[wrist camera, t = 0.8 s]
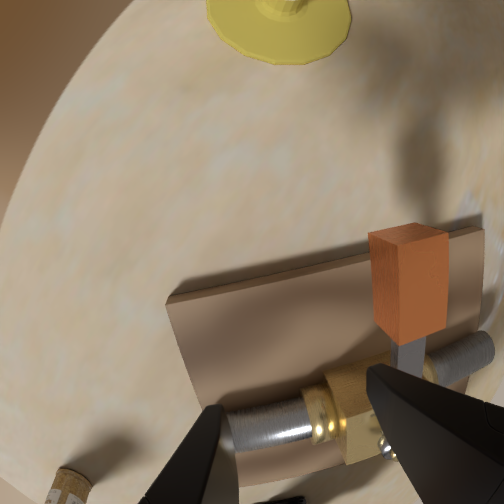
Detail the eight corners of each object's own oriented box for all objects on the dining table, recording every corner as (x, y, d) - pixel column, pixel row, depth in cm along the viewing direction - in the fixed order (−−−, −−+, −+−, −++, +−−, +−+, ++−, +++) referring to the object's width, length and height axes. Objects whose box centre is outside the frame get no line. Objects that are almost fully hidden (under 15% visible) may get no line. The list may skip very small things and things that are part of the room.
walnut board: (452, 406, 26) (459, 414, 25) (235, 476, 25) (236, 487, 24) (472, 225, 21) (484, 229, 20) (168, 296, 20) (165, 304, 19)
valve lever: (404, 433, 17) (420, 457, 14) (370, 446, 17) (384, 473, 14) (414, 222, 13) (448, 232, 11) (368, 232, 13) (397, 245, 11)
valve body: (465, 359, 23) (503, 393, 17) (222, 437, 22) (224, 496, 16) (472, 312, 22) (518, 342, 16) (204, 391, 21) (201, 454, 15)
